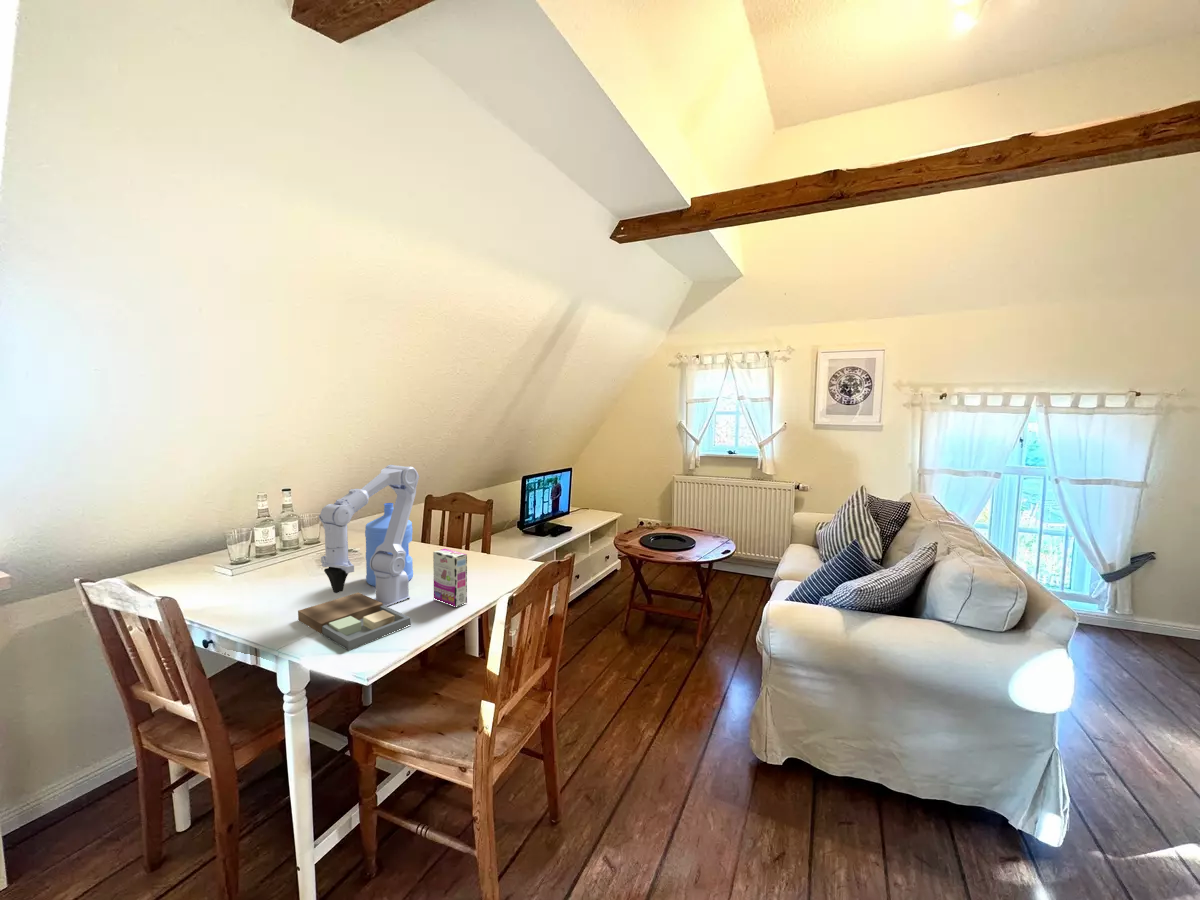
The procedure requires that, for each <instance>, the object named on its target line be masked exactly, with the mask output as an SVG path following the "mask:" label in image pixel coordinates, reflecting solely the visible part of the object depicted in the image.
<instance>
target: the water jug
mask: <svg viewBox="0 0 1200 900" xmlns="http://www.w3.org/2000/svg"><path fill="white" fill-rule="evenodd" d="M394 505H395V502H394V503H393V502H387V503H386V502H385V503H384V504H383V506H384V507H383V515H382V516H379V517H378V518H374V519H373V520H372V521H369V522H367V523H366V525H365V530H364V537H365V564H366V565H365V567H366V571H365V572H366V575H365V581H366V583H367V584H368V585H370V586H372V587H376V575H375V574H374V571H373V570H372V569H371V568H370V559H371V557H372V556H373V554H374V553H375V551H376V548H377V547H378V546H379V545H381V544H382V543H384V539H385V536H386V533H387V529H388V526H389V522H390V519H391V515H392V512H393V509H394ZM413 533H414V532H413V521H411V520H410V519H409V520H408V523H407V527H406V530H405V534H404V538H403V541H402V545H401V546H402V548H403V549H404V551H405V552H406V555H405V567H404V569H403V571H405V572H406V573H407V576H408V582H409V581H411V580H412V579H413V577H414V570H413V567H414V566H413V557H412V556H411V555H410V554H409V553H410V552H409V550H410V549H409V544H410V543H411V542H412V541H413ZM388 554H392V553H391V552H389V553H388ZM410 579H411V580H410Z"/></svg>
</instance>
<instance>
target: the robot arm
mask: <svg viewBox="0 0 1200 900" xmlns="http://www.w3.org/2000/svg"><path fill="white" fill-rule="evenodd" d="M416 469H417V468H415V467H413V466H403V465H396V464H395V465H394V464H389V465H386V466H385V467H384V468H382V469H380V473H378V475H376V476H375V477H373V478H372V479H371V480H370V481H369V482H368V483H366V484H365V485H364V486H362V487H361V488H354V489H353V488H351V489H350V490H348V493H346V494H345V495H344V496H343V497H341V498H337V499H336V501H335V502H334V504H333V503H329V504H326V505H325V506H323V508H322V509H321V511H320V514H319V515H318V519H319V521H320V522H321V523H322V526H323V527H322V528H323V529H324V550H325V555H323V556H320V563H321V567H323V568H324V569H323V572H324V573H325V574H326V576H327V578H328V580H329V582H330V586H331V589H332V591H333V593H334V594H338V593H342V592H343V591H344V587H345V583H346V579H347V578H348V575H349V574H350V573H354V572H355V564H353V563H352V562H351V560H350V559H349V543H348V542H349V541H348V540H349V539H348V524H349V523H350V522H351V520H352V518H353V516H354V515H355V513H357V512H358V511H359V510H361V509H362V508H363V507H365V506H366V505H368V503H369V499H370V498H371V497H372V496H373V495H375V494H377V493H378V492H380V491H381V490H383V489H385V488H386V487H390V488H391V489H392V490H393V491H394V492H395V494H396V499H395V502H394V504H393V508H394V509H393V512H392V515H391V519H390V522H389V526H388V529H387V533H386V536H385V539H384V543H382V544H381V545H379V546H378V547H377V548H376V551H375V553H374V554H373V556H372V557H371V559H370V568H371V569H372V570H373V571H374V574H375V575H376V586H375V598H373V599H374V600H376V601H379V602H381V603H383V605H384V606H386V607H390V606H392V605H395V604H398V603H401V602H403V601H402V600H404V601H406V600H405V599H407V598H410V599H411V596H410V594H409V590H410V589H409V587H410V586H409V581H408V576H407V573H406V572H405V571H403V569H404V567H405V555H406V552H405V551H404V549H403V548H402V546H401V545H402V541H403V538H404V534H405V530H406V527H407V523H408V520H410V516H411V512H412V508H413V505H414V503H415V502H414V501H415V498H416V495H417V486H418V483H419V479H420V475H419V473H418V471H417V470H416ZM389 552H391V553H392V554H388V553H389ZM407 600H408V599H407ZM400 601H401V602H400ZM397 602H398V603H397ZM394 603H395V604H394Z"/></svg>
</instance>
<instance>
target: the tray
mask: <svg viewBox="0 0 1200 900" xmlns="http://www.w3.org/2000/svg"><path fill="white" fill-rule="evenodd" d="M382 610H384V611H386V612H388V613H390V614H392V615H394V617H395V622H392V623H390V624H387V625H384V626H382V627H379V628H376V629H374V630H371V629H369V628H367V627H366V626H364V625H363V619H360V620H359V621H361V631H358V632H355V633H353V634H350V635H347V636H346V635H344V634H342V633H341V632H339V631H337V630H335V629H334V628H332V627H330V626H328V625H324V626H322V634H321V635H322V636H323V637H325V638H327V639H328V640H330V641H332V642H334V643H335V644H337V645H339V646H340V647H342V648H343V649H345V650H346V651H351V650H353V649H357V648H359V647H361V646H364V645H366V644H368V642H369V643H371V642H370V641H372V640H374V641H376V640H375V639H377V638H379V639H381V638H380V637H382V636H384V635H387V634H389V633H392V632H394V631H397V630H399V629H402V628H404V627H406V626H408V625H411V626H412V620H411V617H410V616H408V615H406V614H404V613H401V612H399V611H397V610H395V609H393V608H391V607H389V606H384V605H383V606H380V611H382ZM404 629H405V628H404ZM402 630H403V629H402ZM399 631H400V630H399ZM397 632H398V631H397ZM394 633H395V632H394ZM392 634H393V633H392ZM389 635H390V634H389ZM387 636H388V635H387ZM384 637H385V636H384ZM382 638H383V637H382ZM377 640H378V639H377ZM372 642H373V641H372ZM365 643H366V644H365ZM363 644H364V645H363Z"/></svg>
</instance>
